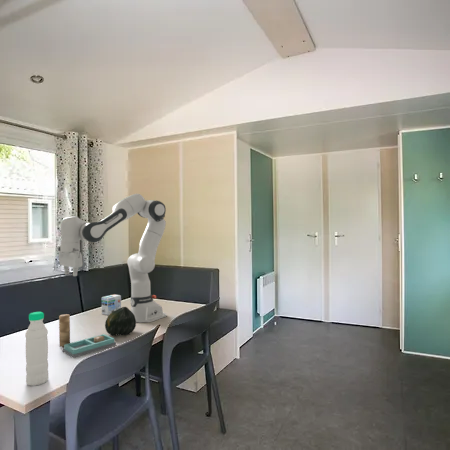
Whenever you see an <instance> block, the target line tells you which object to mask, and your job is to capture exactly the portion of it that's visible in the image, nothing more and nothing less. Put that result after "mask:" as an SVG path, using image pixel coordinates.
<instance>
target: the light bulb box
mask: <svg viewBox="0 0 450 450" xmlns="http://www.w3.org/2000/svg"><path fill="white" fill-rule="evenodd" d="M119 308H122V295H120V294H115V293H114V294H110V295H105V296H102V297H101V314H102V315H105V316H106V315H107V316H109V315H110V314H111V313H112V312H114V311H116V310H118V309H119Z"/></svg>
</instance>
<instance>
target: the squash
mask: <svg viewBox="0 0 450 450" xmlns="http://www.w3.org/2000/svg"><path fill="white" fill-rule="evenodd" d="M136 326H137V322H136V319H135V316H134V314H133V313H132V312H131V309H129V308H128V307H127V306H121V308H119V309H118V310H116V311H114V312H112V313H111V314H110V315H107V318H106V320H105V322H104V327H105V331H106V332H107V333H108V335H110V336H120V335H121V336H128V335H130V334H131V333H133V331H134V330H135V329H136Z"/></svg>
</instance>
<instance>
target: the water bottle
mask: <svg viewBox="0 0 450 450" xmlns="http://www.w3.org/2000/svg"><path fill="white" fill-rule="evenodd" d="M44 318H45V313H44V312H42V311H33V312H30V313H29V314H28V321H29V322H30V324H29V325H28V327H27V330H26V332H25V337H24V338H25V360H26V366H25V372H26V375H25V383H26V385H27V386H31V387H35V386H39V385H43V384H45V383H46V382H47V381H49V360H48V358H49V354H48V353H49V339H48V332H49V331H48V328H47V326H46V325H45V323H44V322H43V321H44Z"/></svg>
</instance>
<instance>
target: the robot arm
mask: <svg viewBox="0 0 450 450" xmlns="http://www.w3.org/2000/svg"><path fill="white" fill-rule="evenodd" d="M166 211H167V210H166V205H165V204H164V203H163V202H162V201H160V200H155V199H153V200H152V199H149V200H148V199H145V198H144V196H143V195H142V194H140V193H133V194H131V195H129V196H126V197H124V198H123V199H121V200H119V201H118V202H116V203H115V204H114V205H113V206H112V213H110V214H108V215H107V216H106V217H104V218H103V219H101V220H99V221H95V222H93V221H92V222H88V221H85V220H83V219H81V218H79V216H77V215H76V216H69V217H64V218H62V220H61V223H60V236H61V240H60V245H59V246H58V247H57V251H58V260H59V261H58V262H59V265H60V266H63V270H64V274H65V275H70V270H69V267H70V268H72V269H73V272H72V276H73V277H77V276H78V271H79V268H82V267H83V265H84V264H83V255H82V252H81V244H80V243H81V242H80V241H85V242H90V243H99V242H100V241H101V240H102V239H104V237H105V236H106V234H107V232H108V231H110V230H111V229H112V228H114V227H116V226H117V225H119V224H120V223H121V222H124V221H126V220H128V219H131V218H132V217H133V216H135V215H136V214H137V215H138V216H139V217H141V218H143V219H147V224H146V227H145V229H144V232H143V233H142V235H141V238H140V241H139V246H138V252H137V253H133V254H131V255H129V257H128V258H127V262H126V263H127V266H128V273H129V278H130V283H131V284H130V285H131V286H130V287H131V296H130V307H131V308H130V311H131V312H132V313H133V314H134V316H135V319H136V323H152V322H155V321H157V320H159V319H163V318H166V317H167V316H168V315H167V313H165V312H164V311H163V310H164V309H163V307H162V305H160V304H159V303H158V302H156V301H154V299H157V295H155V294H151V280H150V277H149V273H151V272H153V270H154V269H155V266H156V262H155V260H156V255H157V250H158V247H159V245H160V243H161V240H162V238H163V235H164V232H165V229H166V224H167V223H166V219H165V218H166Z"/></svg>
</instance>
